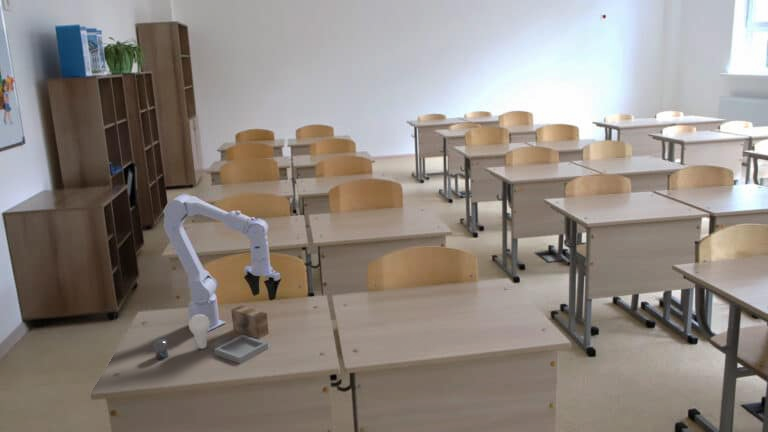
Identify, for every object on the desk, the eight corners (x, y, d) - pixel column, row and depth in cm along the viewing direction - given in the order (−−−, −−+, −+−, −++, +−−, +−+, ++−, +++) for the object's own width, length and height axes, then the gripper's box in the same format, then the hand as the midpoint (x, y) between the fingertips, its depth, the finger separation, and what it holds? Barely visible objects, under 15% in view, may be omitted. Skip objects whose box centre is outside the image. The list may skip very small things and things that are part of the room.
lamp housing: (232, 330, 203) (229, 310, 201) (243, 324, 207) (241, 305, 205) (257, 339, 196) (255, 318, 195) (269, 333, 200) (267, 312, 198)
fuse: (153, 358, 187) (151, 342, 186) (163, 353, 190) (161, 337, 189) (160, 361, 185) (158, 345, 184) (171, 356, 188) (168, 340, 187)
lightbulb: (207, 353, 188) (202, 319, 185) (188, 352, 189) (183, 318, 187) (216, 344, 194) (212, 311, 191) (198, 343, 195) (193, 310, 192)
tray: (215, 354, 188) (214, 348, 187) (243, 340, 196) (242, 334, 196) (240, 363, 181) (239, 358, 181) (268, 348, 190) (267, 343, 189)
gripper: (285, 257, 200) (289, 297, 204) (254, 250, 209) (257, 288, 212) (269, 263, 195) (273, 304, 198) (237, 256, 203) (241, 295, 207)
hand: (264, 297), depth 205 cm, fingers open, 7 cm apart
